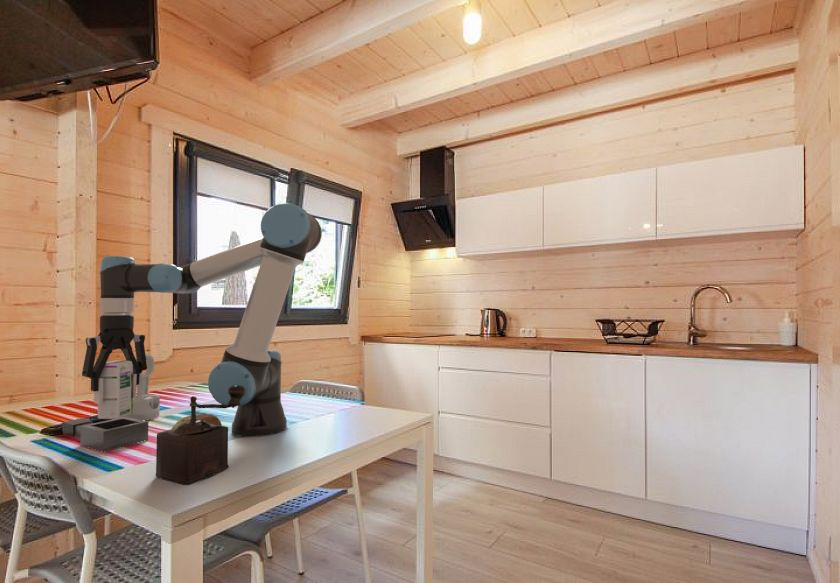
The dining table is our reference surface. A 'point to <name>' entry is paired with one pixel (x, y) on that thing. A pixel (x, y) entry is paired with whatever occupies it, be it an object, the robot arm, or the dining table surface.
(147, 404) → the engine component
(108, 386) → the syrup box
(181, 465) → the coffee grinder
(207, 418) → the bread roll
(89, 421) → the grey storage bin
